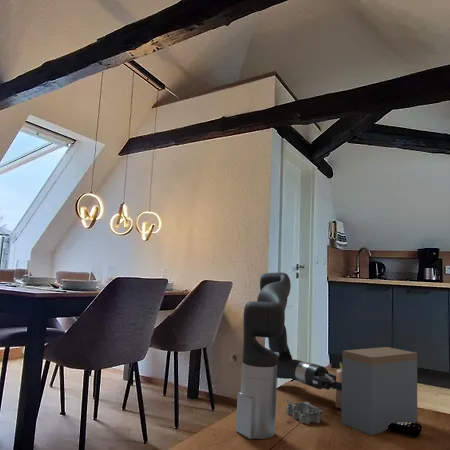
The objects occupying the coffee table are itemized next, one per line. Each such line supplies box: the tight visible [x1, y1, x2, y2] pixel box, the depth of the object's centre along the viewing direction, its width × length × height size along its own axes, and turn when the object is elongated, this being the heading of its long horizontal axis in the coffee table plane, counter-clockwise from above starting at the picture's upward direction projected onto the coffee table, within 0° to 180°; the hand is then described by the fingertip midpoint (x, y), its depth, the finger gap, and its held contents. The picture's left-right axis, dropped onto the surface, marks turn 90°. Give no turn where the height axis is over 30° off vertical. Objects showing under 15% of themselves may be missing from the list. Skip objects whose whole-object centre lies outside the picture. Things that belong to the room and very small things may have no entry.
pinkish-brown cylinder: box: [335, 368, 342, 409], centre depth 128 cm, size 6×6×11 cm
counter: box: [340, 346, 418, 436], centre depth 118 cm, size 22×10×20 cm, turn 125°
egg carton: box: [285, 399, 323, 425], centre depth 118 cm, size 11×8×4 cm
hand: (351, 387), depth 126 cm, fingers closed on pinkish-brown cylinder, 5 cm apart
